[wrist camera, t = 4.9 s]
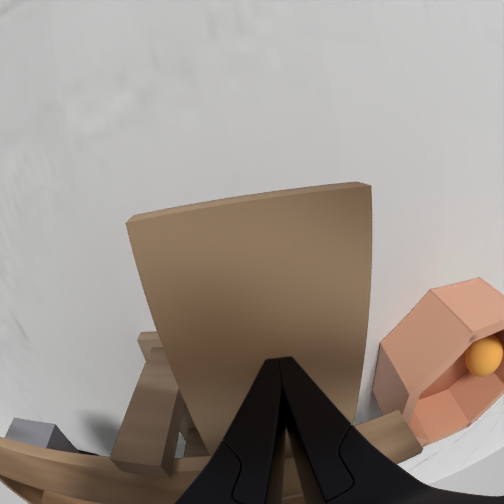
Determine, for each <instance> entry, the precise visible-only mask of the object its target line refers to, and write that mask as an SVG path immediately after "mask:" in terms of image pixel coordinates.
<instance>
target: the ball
mask: <svg viewBox="0 0 504 504" xmlns="http://www.w3.org/2000/svg"><path fill="white" fill-rule="evenodd" d="M502 356H503V348H502V344H501V342H500V340H499V339H498V338H497V337H496V336H494V335H489V336H487V337H484V338H482V339H479V340H477V341H474V342H473V343H472V344H471V345H470V346H469V347H468V348H467V350H466V355H465V362H466V366H467V368H468V370H469V371H470V372H471V373H472V374H473V375H475V376H479V377H483V376H487V375H490V374H491V373H493V372H494V371H495V370H496V369H497V368H498V366H499V365H500V363H501V360H502Z"/></svg>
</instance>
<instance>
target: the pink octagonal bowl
mask: <svg viewBox="0 0 504 504" xmlns="http://www.w3.org/2000/svg"><path fill="white" fill-rule="evenodd" d="M489 335H494V336H496V337H497V338H498V339H499V340H500V342H501V344H502V348H503V356H502V360H501V363H500V365H499V366H498V368H497V369H496V370H495V371H494V372H493V373H491V374H490V375H487V376H483V377H479V376H475V375H473V374H472V373H471V372H470V371H469V370H468V368H467V366H466V362H465V355H466V350H467V348H468V347H469V346H470V345H471V344H472V343H473V342H474V341H477V340H479V339H482V338H484V337H487V336H489ZM372 391H373V393H374V395H375V397H376V400H377V402H378V404H379V407H380V409H381V412H382V414H383V416H384V415H387V414H389V413H392V412H394V411H397V410H399V411H400V413H401V414H402V416H403V418H404V419H405V421H406V422H407V424H408V425H409V427H410V429H411V430H412V432H413V433H414V435H415V437H416V438H417V440H418V441H419V443H420V445H421V446H422V447H424V446H427V445H429V444H432V443H434V442H436V441H439V440H441V439H443V438H446V437H448V436H450V435H452V434H455V433H457V432H459V431H461V430H463V429H465V428H467V427H469V426H470V425H471V424H472V423H473V422H475V421H476V420H477V419H478V418H479V417H480V416H481V415H482V414H483V413H484V412H485V411H487V410H488V409H489V408H490V407H491V406H492V405H493V404H494V403H495V402H496V401H497V400H498V399H499V398H500V397H501V396H502V395H503V394H504V295H502V294H501V293H500V292H498V291H497V290H496V289H495V288H493V287H492V286H491V285H489V284H488V283H487V282H485V281H484V280H483V279H481V278H480V277H479V278H476V279H472V280H468V281H464V282H460V283H456V284H452V285H448V286H444V287H440V288H435V289H430V291H429V292H428V293H427V294H426V295H425V296H424V297H423V299H422V300H421V301H420V302H419V303H418V304H417V305H416V306H415V307H414V309H413V310H412V311H411V312H410V313H409V314H408V315H407V316H406V317H405V318H404V319H403V320H402V321H401V322H400V323H399V324H398V325H397V326H396V327H395V328H394V330H393V331H392V332H391V333H390V334H389V335H388V336H386V337H385V338H384V339H383V340H382V341H381V342H380V349H379V356H378V362H377V367H376V373H375V378H374V383H373V388H372Z"/></svg>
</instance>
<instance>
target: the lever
mask: <svg viewBox="0 0 504 504" xmlns="http://www.w3.org/2000/svg"><path fill="white" fill-rule="evenodd" d="M126 226H127V231H128V235H129V239H130V243H131V247H132V250H133V254H134V258H135V262H136V265H137V269H138V272H139V276H140V279H141V283H142V286H143V289H144V293H145V296H146V299H147V302H148V305H149V309H150V312H151V315H152V318H153V321H154V324H155V327H156V329H157V332H158V335H159V338H160V341H161V343H162V346H163V349H164V352H165V354H166V357H167V360H168V362H169V365H170V367H171V370H172V372H173V375H174V377H175V380H176V382H177V385H178V387H179V389H180V392H181V394H182V397H183V399H184V401H185V403H186V406H187V408H188V410H189V412H190V415H191V417H192V419H193V421H194V423H195V425H196V428H197V430H198V432H199V434H200V436H201V438H202V440H203V442H204V444H205V446H206V448H207V450H208V452H209V454H210V456H205V457H191V458H174V462H173V467H172V473H171V478H164V477H155V476H147V475H140V474H133V473H127V472H122V471H121V470H120V469H119V468H118V467H117V466H116V465H115V464H114V463H113V462H112V461H111V460H110V457H105V456H95V455H86V454H81V453H80V452H79V451H78V450H77V449H76V448H75V447H74V446H73V445H72V443H71V442H70V441H69V440H68V439H67V438H66V437H65V435H64V434H63V433H62V432H61V431H60V429H59V428H58V427H57V426H56V425H55V424H50V423H43V422H36V421H30V420H25V419H19V418H14V419H13V421H12V423H11V425H10V427H9V429H8V431H7V434H6V436H5V438H3V437H0V481H1V482H2V483H3V484H5V485H6V486H7V487H8V488H10V489H11V490H12V491H13V492H15V493H16V494H17V495H18V496H20V497H21V498H22V499H24V500H25V501H26V502H28V503H29V504H174V503H175V501H176V500H177V499H178V498H179V497H180V496H181V495H182V493H183V492H184V491H185V490H186V489H187V488H188V487H189V485H190V484H191V483H192V482H193V481H194V480H195V478H196V477H197V476H198V475H199V473H200V472H201V471H202V469H203V468H204V467H205V465H206V464H207V463H208V461H209V460H210V458H211V457H212V455H213V453H214V452H215V450H216V449H217V447H218V445H219V443H220V442H221V441H223V440H222V438H223V437H224V435H225V433H226V431H227V430H228V428H229V426H230V424H231V422H232V421H233V419H234V417H235V415H236V413H237V412H238V410H239V408H240V406H241V404H242V403H243V401H244V399H245V397H246V395H247V393H248V391H249V389H250V388H251V386H252V384H253V382H254V380H255V378H256V376H257V374H258V372H259V370H260V368H261V366H262V365H263V363H264V361H265V360H266V359H270V358H280V357H287V356H292V357H293V358H294V359H295V360H296V361H297V362H298V364H299V365H300V366H301V367H302V368H303V369H304V370H305V372H306V373H307V374H308V375H309V376H310V377H311V379H312V380H313V381H314V382H315V383H316V384H317V385H318V386H319V388H320V389H321V390H322V391H323V392H324V393H325V394H326V396H327V397H328V398H329V399H330V400H331V401H332V402H333V403H334V405H335V406H336V407H337V408H338V409H339V410H340V411H341V412H342V413H343V415H344V416H345V417H346V418H347V419H348V420H349V421H350V422H351V423H352V425H353V422H354V417H355V412H356V407H357V401H358V396H359V390H360V384H361V377H362V370H363V363H364V355H365V347H366V338H367V328H368V317H369V305H370V290H371V269H372V193H371V185H367V184H364V183H360V182H348V183H338V184H329V185H320V186H311V187H303V188H295V189H287V190H280V191H272V192H265V193H258V194H251V195H244V196H238V197H231V198H225V199H219V200H213V201H207V202H201V203H195V204H190V205H184V206H179V207H173V208H168V209H163V210H158V211H153V212H148V213H143V214H138V215H134V216H133V217H132V218H130V219H129V220H128V221H127V222H126ZM355 428H356V429H357V430H358V431H359V432H360V433H361V434H362V435H363V436H364V437H365V438H366V439H367V440H368V441H369V442H370V443H371V444H372V445H373V446H374V447H376V448H377V449H378V450H379V451H380V452H382V453H383V454H384V455H385V456H387V457H388V458H389V459H390V460H392V461H393V462H394V463H396V464H399V463H401V462H403V461H405V460H408V459H410V458H412V457H414V456H416V455H418V454H420V453H421V452H422V450H423V448H422V446H421V445H420V443H419V441H418V440H417V438H416V437H415V435H414V433H413V432H412V430H411V429H410V427H409V425H408V424H407V422H406V421H405V419H404V418H403V416H402V414H401V413H400V411H399V410H397V411H394V412H392V413H389V414H387V415H384V416H382V417H379V418H376V419H373V420H371V421H368V422H365V423H362V424H359V425H356V426H355ZM282 504H306V502H305V499H304V495H303V491H302V487H301V483H300V479H299V476H298V472H297V468H296V464H295V460H294V456H293V452H292V449H291V445H290V441H289V437H288V433H287V429H286V442H285V461H284V479H283V494H282Z"/></svg>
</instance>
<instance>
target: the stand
mask: <svg viewBox="0 0 504 504" xmlns="http://www.w3.org/2000/svg"><path fill="white" fill-rule="evenodd" d="M137 340H138V343H139V345H140V348H141V350H142V353H143V355H144V357H145V360H146V363H145V365H144V368H143V370H142V373H141V375H140V378H139V380H138V383H137V386H136V388H135V391H134V393H133V396H132V398H131V401H130V404H129V406H128V409H127V412H126V414H125V417H124V420H123V422H122V425H121V428H120V431H119V433H118V436H117V439H116V442H115V445H114V448H113V451H112V453H111V456H110V460H111V461H112V462H113V463H114V464H115V465H116V466H117V467H118V468H119V469H120V470H121V471H122V472H127V473H133V474H140V475H147V476H155V477H164V478H171V473H172V467H173V462H174V456H175V451H176V446H177V440H178V435H179V430H180V432H181V434H182V436H183V437H184V439H185V440H186V446H185V452H184V458H191V457H205V456H210V454H209V452H208V450H207V448H206V446H205V444H204V442H203V440H202V438H201V436H200V434H199V432H198V430H197V428H196V425H195V423H194V421H193V419H192V417H191V415H190V412H189V410H188V408H187V406H186V403H185V401H184V399H183V397H182V394H181V392H180V389H179V387H178V385H177V382H176V380H175V377H174V375H173V372H172V370H171V367H170V365H169V362H168V360H167V357H166V354H165V352H164V349H163V346H162V343H161V341H160V338H159V335H158V332H141V333H140V335H139V337H138V339H137Z"/></svg>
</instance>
